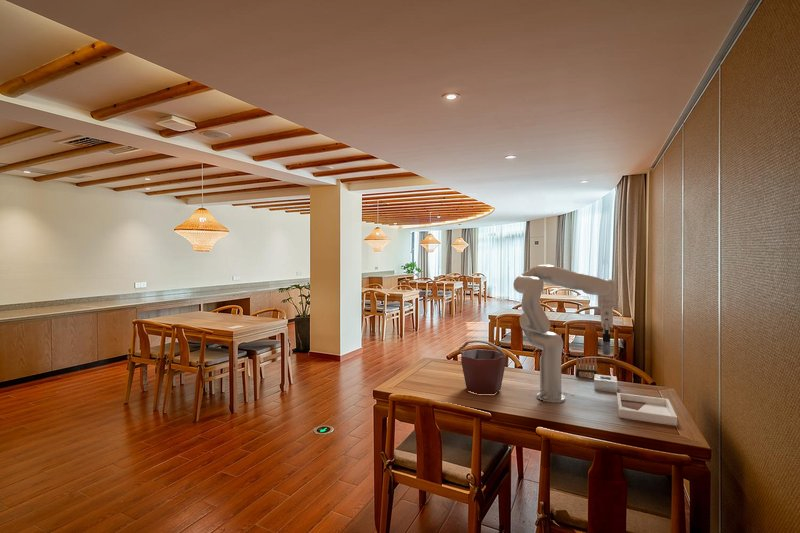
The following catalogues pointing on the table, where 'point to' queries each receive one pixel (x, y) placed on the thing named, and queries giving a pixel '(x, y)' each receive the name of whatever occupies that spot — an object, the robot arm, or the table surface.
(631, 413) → the tray
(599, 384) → the block
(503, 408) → the table surface
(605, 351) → the pin
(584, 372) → the ammunition clip
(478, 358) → the bucket
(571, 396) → the table surface
